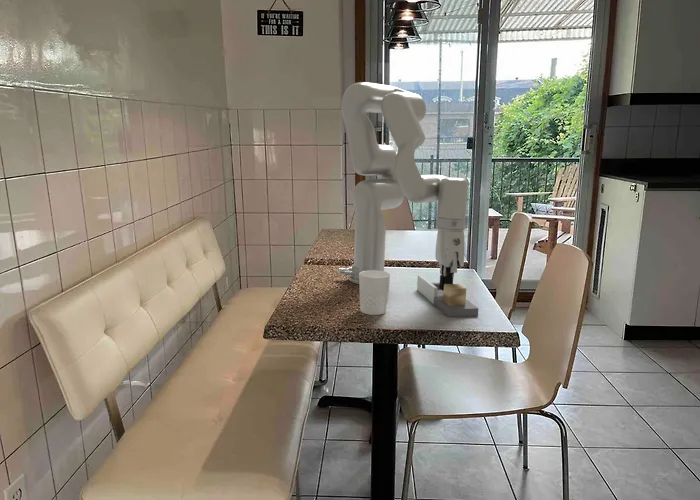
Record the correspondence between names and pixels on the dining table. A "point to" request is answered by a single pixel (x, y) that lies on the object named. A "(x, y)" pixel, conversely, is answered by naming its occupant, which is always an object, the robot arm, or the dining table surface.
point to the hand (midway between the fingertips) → (445, 289)
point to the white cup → (373, 291)
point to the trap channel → (436, 298)
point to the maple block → (454, 294)
